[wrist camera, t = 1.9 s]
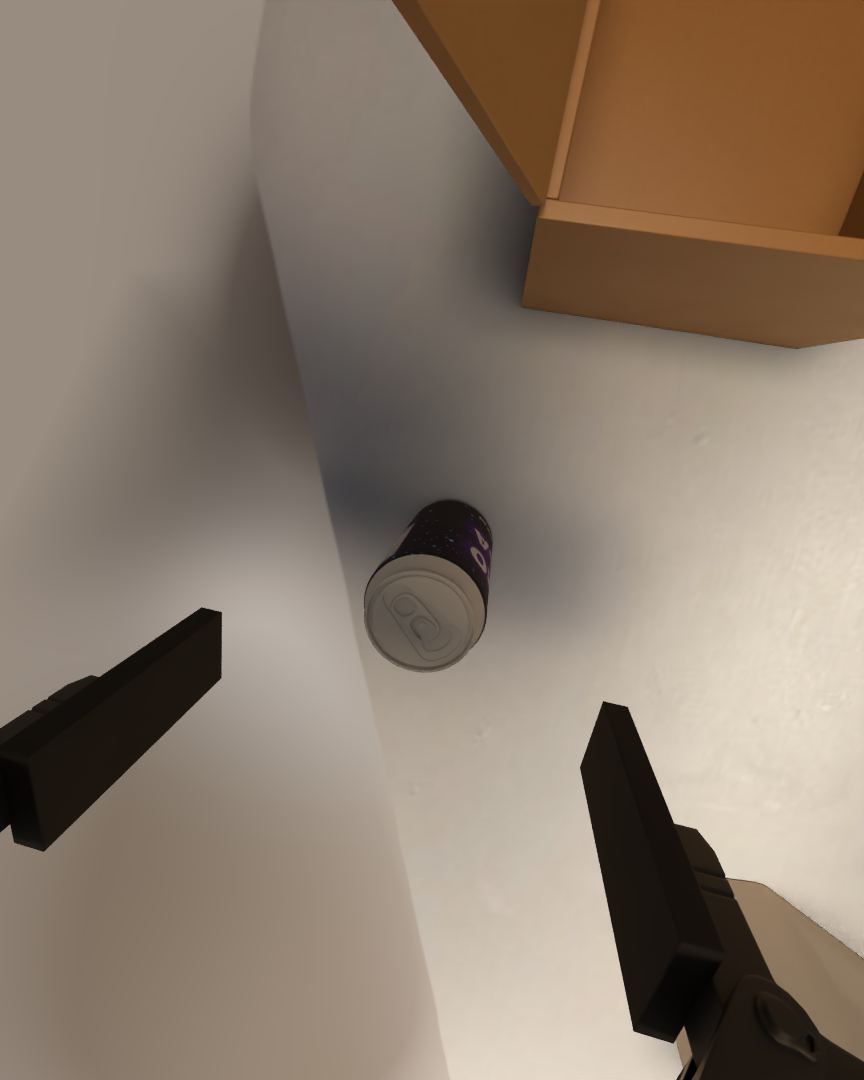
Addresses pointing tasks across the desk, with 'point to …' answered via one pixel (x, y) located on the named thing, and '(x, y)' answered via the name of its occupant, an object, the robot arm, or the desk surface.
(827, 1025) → the tall recessed triangular prism
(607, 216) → the carton
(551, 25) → the flap
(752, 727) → the desk surface
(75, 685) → the robot arm
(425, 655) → the beverage can
